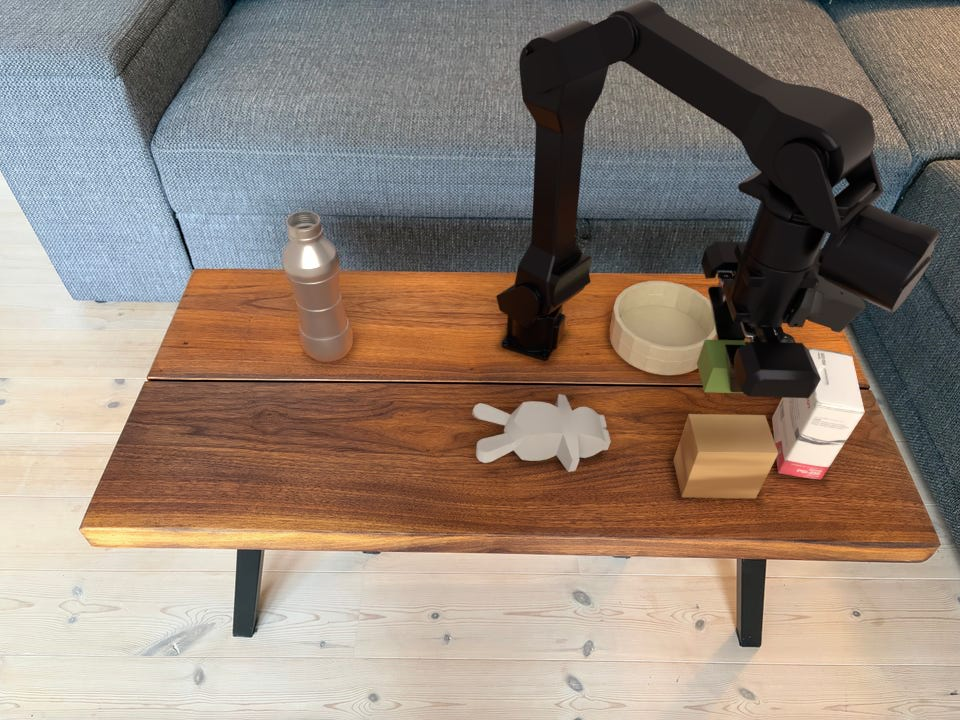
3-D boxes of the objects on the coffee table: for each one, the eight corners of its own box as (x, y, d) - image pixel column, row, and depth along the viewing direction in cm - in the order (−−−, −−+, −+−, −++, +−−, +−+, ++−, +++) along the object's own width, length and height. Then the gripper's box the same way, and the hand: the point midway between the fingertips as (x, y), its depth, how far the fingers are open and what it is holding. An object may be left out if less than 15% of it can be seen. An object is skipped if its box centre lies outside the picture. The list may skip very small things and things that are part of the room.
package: (764, 394, 71) (775, 369, 69) (704, 392, 71) (713, 368, 69) (754, 364, 74) (764, 340, 72) (696, 363, 74) (704, 339, 72)
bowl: (721, 376, 90) (730, 350, 87) (615, 374, 90) (621, 349, 87) (699, 306, 99) (707, 281, 96) (604, 305, 99) (608, 279, 96)
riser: (755, 498, 77) (778, 453, 71) (681, 497, 77) (698, 452, 71) (744, 460, 81) (765, 414, 75) (673, 459, 81) (688, 413, 75)
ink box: (824, 482, 79) (867, 412, 70) (777, 474, 79) (813, 404, 71) (815, 422, 85) (853, 351, 76) (770, 416, 85) (803, 344, 77)
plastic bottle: (341, 374, 89) (317, 242, 75) (293, 361, 91) (260, 230, 77) (364, 340, 94) (344, 210, 79) (317, 328, 95) (290, 198, 81)
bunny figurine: (620, 453, 76) (480, 451, 74) (608, 481, 80) (474, 480, 78) (602, 387, 83) (473, 383, 81) (591, 416, 86) (468, 413, 84)
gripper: (918, 329, 55) (841, 452, 66) (838, 193, 68) (785, 315, 79) (772, 325, 55) (719, 449, 66) (720, 189, 68) (683, 312, 79)
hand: (730, 375), depth 72 cm, fingers closed on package, 4 cm apart
